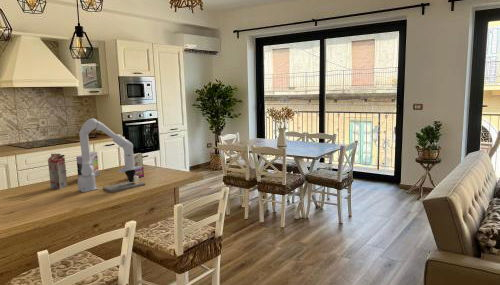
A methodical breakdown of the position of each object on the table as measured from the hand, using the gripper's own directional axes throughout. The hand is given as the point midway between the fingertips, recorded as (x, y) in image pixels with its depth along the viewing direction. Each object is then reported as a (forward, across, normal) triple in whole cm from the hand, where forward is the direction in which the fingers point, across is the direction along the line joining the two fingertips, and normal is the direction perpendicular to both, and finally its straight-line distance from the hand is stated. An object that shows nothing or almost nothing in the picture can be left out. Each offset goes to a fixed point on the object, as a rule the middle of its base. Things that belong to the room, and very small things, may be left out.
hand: (130, 181), depth 228 cm
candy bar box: (+3, +12, +18) cm, 22 cm away
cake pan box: (+3, -10, +41) cm, 42 cm away
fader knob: (+1, +3, 0) cm, 3 cm away
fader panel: (+2, -4, 0) cm, 5 cm away
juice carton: (+3, -32, +32) cm, 46 cm away
